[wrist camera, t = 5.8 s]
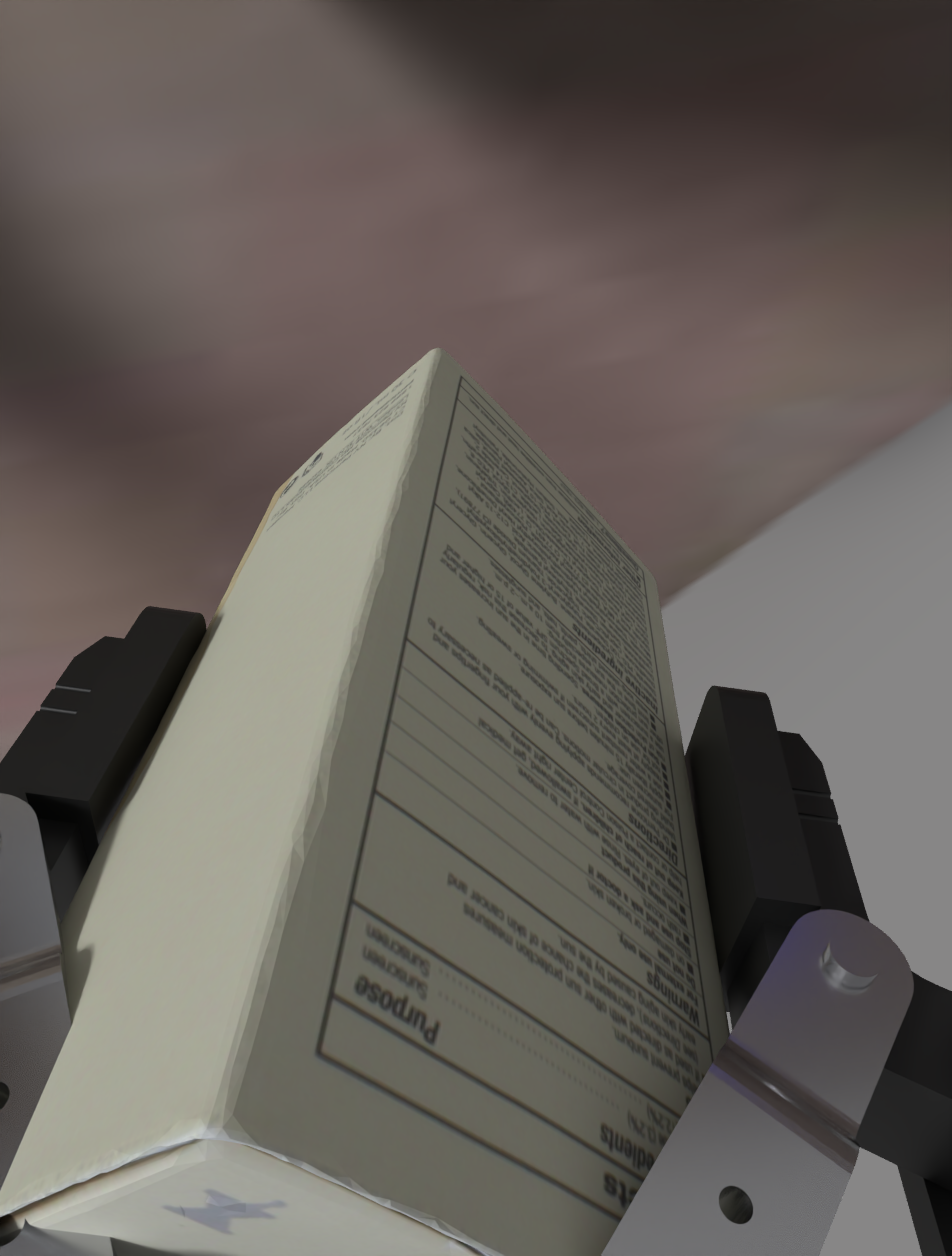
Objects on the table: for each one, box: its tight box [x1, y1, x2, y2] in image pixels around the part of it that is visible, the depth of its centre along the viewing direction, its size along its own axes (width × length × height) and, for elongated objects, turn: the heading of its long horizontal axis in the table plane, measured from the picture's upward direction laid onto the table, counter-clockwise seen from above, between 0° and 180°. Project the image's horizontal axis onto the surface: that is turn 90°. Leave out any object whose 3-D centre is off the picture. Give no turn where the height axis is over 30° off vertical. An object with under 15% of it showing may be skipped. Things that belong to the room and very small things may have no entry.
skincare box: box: [0, 348, 730, 1256], centre depth 12 cm, size 6×4×12 cm
